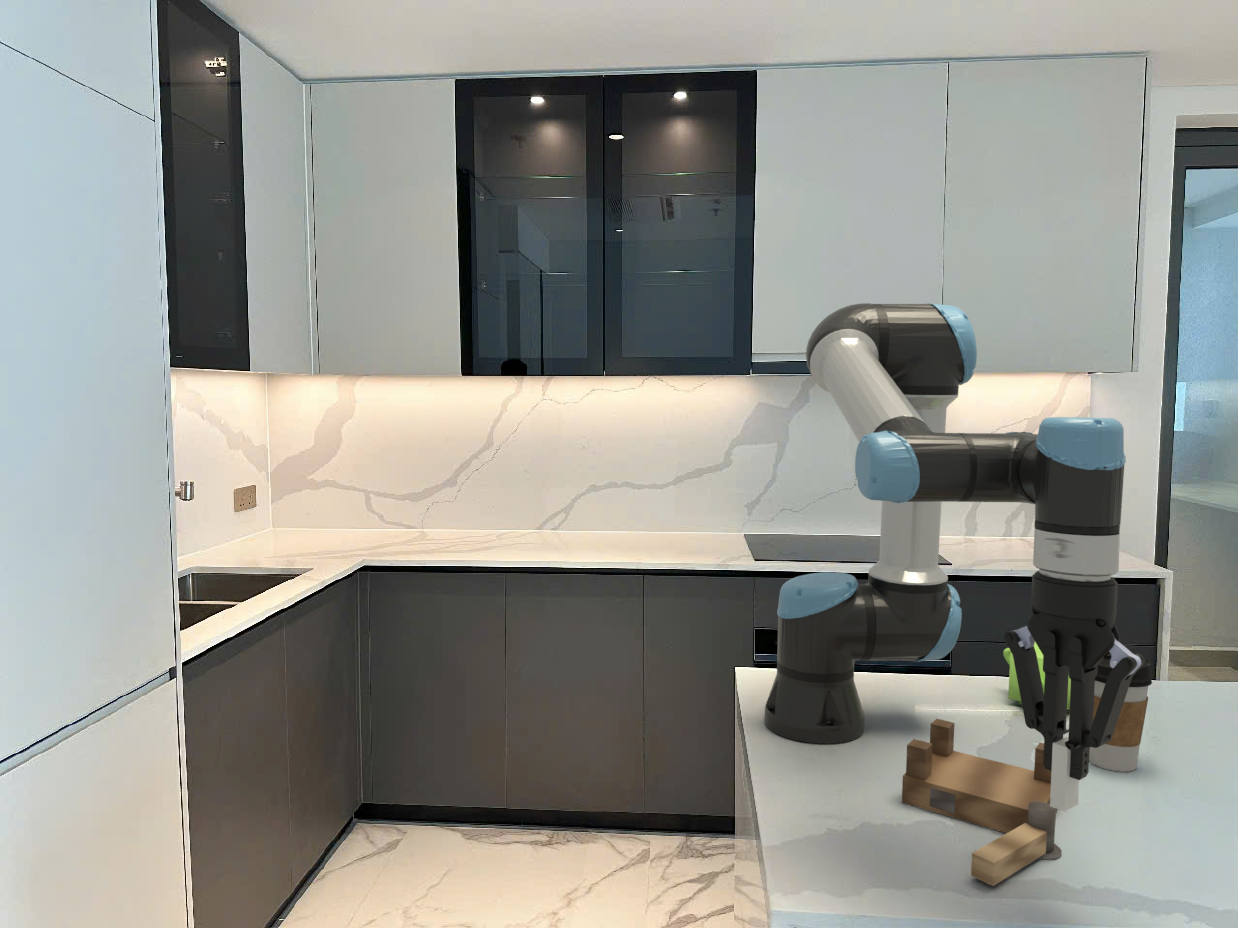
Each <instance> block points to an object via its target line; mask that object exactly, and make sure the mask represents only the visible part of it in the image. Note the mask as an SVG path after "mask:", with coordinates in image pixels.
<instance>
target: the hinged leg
mask: <svg viewBox="0 0 1238 928" xmlns="http://www.w3.org/2000/svg"><path fill="white" fill-rule="evenodd" d="M1056 814H1057V812H1056V809H1055V808H1053V807H1051V806H1050V804H1047V803H1044V802H1037V801H1035V802H1030V803H1029V805H1028V824H1026V823H1024V824H1022V825H1021V826H1019V827H1017V828H1015V829H1014V830H1012V831H1010V832H1008V833H1004V834H1003V835H1001V836H1000V837H998V838H996V839H995V840H994V839H993V841H991V842H989V843H987V844H985V845H984V846H982V847H979V849H976V850H974V851H973V852H972V853H971V865H970V867H971V868H970V876H971V877H973V878H975V879H977V880H979V881H982V882H983V883H986V884H987V885H989V886H992V887H994V886H996V885H997V884H998V883H1000V882H1002V881H1004V880H1005V879H1007V878H1009V877H1010V876H1012V875H1014V874H1015V873H1016V872H1018V871H1020V870H1021V869H1023V868H1024V867H1026V866H1028V865H1030V864H1032V863H1033V862H1034V861H1036V860H1037V859H1039V857H1041V856H1042V855H1044V854H1045V853H1046V852H1049V851H1052V850H1053V849H1054V844H1055V834H1056V833H1055V831H1056V817H1057V815H1056Z"/></svg>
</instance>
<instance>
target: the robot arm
mask: <svg viewBox="0 0 1238 928" xmlns="http://www.w3.org/2000/svg"><path fill="white" fill-rule="evenodd" d="M972 324H973V323H971V321H970V319H969V317H968V315H967V314H966V313H965V312H964V311H963V310H962V309H961V308H959V307H958V306H955V305H951V304H950V305H946V304H940V303H939V304H937V303H931V302H929V303H870V302H868V303H856V304H850V305H846V306H844V307H841V308H839V309H837V310H835V311H833V312H832V313H830V314H828V315H827V316H825V318H823V320H822V321H820V323H819V324H818V325H817V326H816V327H815V328H814V330H813V331H812V332H811V335H810V337H809V339H808V342H807V345H806V351H805V360H806V364H807V369H808V371H809V373H810V375H811V377H812V379H813V380H814V382H815V383H816V384H817V385H818V386H819V387H820V388H821V389H823V390H824V391H826V392H828V393H830V395H831V396H832V398H833V400H834V402H835V404H836V405H837V407H838V409H839V411H841V414H842V416H843V417H844V419H845V421H846V422H847V424H848V426H849V428H850V429H851V431H852V433H853V434H854V436H855V437H856V439H857V441H858V445H857V447H856V451H855V457H854V458H855V459H854V472H855V473H854V474H855V477H856V481H857V487H858V490H859V492H860V493H861V495H862V496H863V497H865V498H866V499H868V500H871V501H880V502H881V514H880V516H881V517H880V518H881V519H880V537H879V540H880V541H879V559H878V561H877V562H875V563H874V564H873V565H872V566H871V567H870V568H869V569H868V578H867V579H868V580H867V583H859V582H858V581H857V578H856V577H855V576H854V575H852V574H849V573H845V572H832V571H830V572H827V571H826V572H814V573H807V574H802V575H798V576H795V577H793V578H790V579H789V580H787V581H786V582H785V583H783V584H782V586H781V587H780V590H779V596H778V604H777V605H778V606H777V610H776V614H777V616H778V617H777V618H778V619H777V653H776V654H777V657H776V659H777V661H776V674H775V678H774V680H773V684H772V685H771V689H770V691H769V694H768V697H767V700H766V702H765V705H764V720H763V721H764V725H765V726H766V728H768V729H769V730H771V731H772V732H773V733H775V734H776V735H779V736H782V737H784V738H788V739H790V740H795V741H798V742H799V741H800V742H803V743H805V742H806V743H813V744H840V743H846V742H849V741H850V742H851V741H853V740H855V739H857V738H859V737H861V736H862V735H863V734H864V731H865V714H864V709H863V707H862V703H861V700H860V697H859V693H858V689H857V687H856V683H855V677H854V676H855V662H856V661H904V662H905V661H906V662H907V661H910V662H915V663H916V662H917V663H918V662H919V663H920V662H923V661H935V660H936V661H937V660H941V659H943V658H945V657H946V656H948V654H949V653H951V651H952V650H953V649H954V648H955V645H956V644H957V642H958V638H959V635H960V631H961V626H962V615H963V613H962V608H961V607H960V605H961V598H960V595H959V593H958V591H957V589H956V588H955V587H954V586H952V584H949V583H948V582H949V581H948V580H949V576H948V575H947V573H945V571H944V570H943V569H942V568H941V567H940V565H939V555H940V553H939V550H940V537H941V536H940V535H941V534H940V532H941V514H942V503H943V502H947V503H948V502H955V503H956V502H957V503H958V502H959V503H961V502H963V503H1023V504H1024V503H1025V504H1031V505H1034V526H1033V527H1034V532H1033V533H1034V534H1033V535H1034V537H1033V538H1034V539H1033V556H1032V557H1033V558H1032V559H1033V560H1032V565H1033V566H1034V567H1035V569H1038V570H1037V571H1035V572H1034V573H1033V574H1031V575H1032V576H1031V581H1032V582H1031V596H1030V597H1031V601H1030V604H1031V608H1032V611H1031V614H1030V616H1029V617H1028V618H1027V622H1026V626H1022V627H1019V628H1018V629H1014V630H1010V631H1007V632H1005V633H1004V635H1003V639H1004V641H1005V643H1006V644H1007V648H1009V649H1010V651H1011V653H1012V654H1013V659H1014V664H1015V670H1016V675H1017V680H1018V686H1019V691H1020V697H1021V702H1022V705H1021V706H1022V712H1023V717H1024V718H1023V719H1024V722H1025V725H1026V727H1027V728H1029V729H1031V730H1032V729H1033V730H1035V731H1037V732H1038V733H1040V734H1041V735H1042V737H1043V743H1044V759H1043V764H1044V767H1045V769H1047V770H1050V771H1051V794H1050V806H1051V807H1053V808H1056V809H1058V811H1062V812H1065V813H1066V812H1067V811H1069V810H1070V809H1072V808H1075V807H1076V806H1077V805H1079V787H1080V786H1079V784H1080V780H1081V781H1082V780H1083V779H1085V778H1087V776H1088V774H1089V772H1090V771H1089V768H1090V761H1089V751H1090V747H1093V748H1098V747H1100V746H1102V745H1104V744H1106V743H1108V742H1109V741H1111V739H1112V736H1113V733H1114V730H1115V727H1116V724H1117V721H1118V718H1119V715H1120V712H1121V709H1122V706H1123V703H1124V700H1125V697H1126V694H1127V691H1128V688H1129V685H1130V682H1131V679H1132V676H1133V675H1134V674H1135V673H1136V672H1137V671H1138V670H1139V669H1140V668H1141V667H1142V666H1143V665H1144V663H1145V659H1146V658H1145V657H1144V656H1143V655H1142V654H1141V653H1133V652H1132V651H1130V650H1129V649H1128V648H1127V647H1126V646H1124V645H1123V643H1121V642H1120V640H1121V639H1120V638H1121V637H1120V633H1119V631H1118V629H1117V625H1116V616H1117V605H1118V584H1119V583H1118V581H1116V579H1115V578H1114V577H1112V576H1114V575H1116V574H1117V573H1119V570H1120V567H1119V566H1120V564H1119V563H1120V540H1121V539H1120V538H1121V534H1120V532H1121V531H1120V530H1121V522H1122V521H1121V519H1122V508H1123V507H1122V506H1123V505H1122V504H1123V490H1124V478H1125V477H1124V475H1125V463H1126V455H1125V452H1124V450H1125V449H1124V445H1125V444H1124V442H1125V441H1124V438H1125V437H1124V435H1125V433H1124V427H1123V424H1122V423H1121V421H1119V420H1118V419H1116V418H1113V417H1086V416H1085V417H1083V416H1082V417H1078V416H1070V417H1069V416H1067V417H1066V416H1049V417H1046V418H1044V419H1043V420H1042V421H1041V422H1040V424H1039V426H1038V433H1037V434H1036V433H1032V432H1027V431H1008V432H1004V433H1001V432H1000V433H994V432H993V433H992V432H991V433H986V432H985V433H984V432H983V433H982V432H981V433H979V432H978V433H977V432H976V433H975V432H974V433H973V432H972V433H967V432H966V433H965V432H946V426H947V425H946V423H947V410H948V407H949V406H950V405H951V404H952V403H953V402H954V401H955V400H956V399H957V398H958V397H959V387H960V386H962V385H964V384H967V383H968V382H970V380H971V379H972V377H973V376H974V370H975V368H976V367H977V356H978V353H977V352H978V350H977V349H978V348H977V340H976V335H975V331H974V328H973V325H972ZM1035 642H1036V644H1037V645H1038V647H1039V649H1040V651H1041V652H1042V654H1043V671H1044V672H1045V685H1044V692H1043V687H1042V682H1041V676H1040V671H1039V666H1038V660H1037V655H1036V651H1035V648H1034V644H1035ZM1108 654H1111V656H1112V657H1111V660H1110V666H1111V667H1112V668H1113V669H1112V671H1111V672H1110V674H1109V676H1108V678H1107V681H1106V684H1105V687H1104V690H1103V693H1102V696H1101V699H1100V702H1099V705H1098V708H1097V711H1096V714H1095V717H1094V720H1093V712H1094V690H1095V677H1096V675H1097V672H1098V665H1099V664H1100V663H1101V662H1102V661H1103V659H1104V658H1105V657H1106V656H1107V655H1108ZM1068 676H1069V678H1070V679H1071V690H1070V709H1069V715H1068V713H1067V712H1068V710H1067V697H1068ZM1067 715H1068V718H1069V719H1068V720H1069V721H1068V729H1067ZM1066 734H1068V736H1065V735H1066ZM1064 736H1065V737H1064Z"/></svg>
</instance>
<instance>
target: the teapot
mask: <svg viewBox="0 0 1238 928" xmlns="http://www.w3.org/2000/svg"><path fill="white" fill-rule="evenodd" d="M1034 648H1035V651H1036V655H1037V660H1038V666H1039V671H1040V676H1041V682H1042V687H1043V692H1044V685H1045V672H1044V671H1043V654H1042V652H1041V651H1040V649H1039V647H1038V645H1037V644H1036V642H1035V644H1034ZM1002 653H1003V654H1002V655H1003V657H1004V659H1005V661H1006V663H1007V664H1008V665H1009V673H1008V674H1009V676H1008V677H1009V678H1008V693H1007V695H1008V696H1007V698H1008V699H1009V700H1013V701H1016V702H1018V704H1019V705H1020V706H1022V702H1021V697H1020V691H1019V686H1018V680H1017V675H1016V670H1015V664H1014V659H1013V654H1012V653H1011V651H1010V649H1009V647H1006V648H1005V649H1004V650H1003V651H1002ZM1070 690H1071V679H1070V678H1069V676H1068V697H1067V711H1070Z"/></svg>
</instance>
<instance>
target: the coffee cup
mask: <svg viewBox="0 0 1238 928" xmlns="http://www.w3.org/2000/svg"><path fill="white" fill-rule="evenodd" d="M1111 657H1112V656H1111V653H1109V654H1108V655H1107V656H1106V657H1105V658H1104V659H1103V661H1102V662H1101V663H1100V664H1099V665H1098V672H1097V675H1096V677H1095V690H1094V712H1093V720H1094V717H1095V714H1096V711H1097V708H1098V705H1099V702H1100V699H1101V696H1102V693H1103V690H1104V687H1105V684H1106V681H1107V678H1108V676H1109V674H1110V672H1111V671H1112V669H1113V668H1112V667H1111V666H1110V660H1111ZM1144 659H1145V663H1144V665H1143V666H1142V667H1141V668H1140V669H1139V670H1138V671H1137V672H1136V673H1135V674H1134V675H1133V676H1132V679H1131V682H1130V685H1129V688H1128V691H1127V694H1126V697H1125V700H1124V703H1123V706H1122V709H1121V712H1120V715H1119V718H1118V721H1117V724H1116V727H1115V730H1114V733H1113V736H1112V739H1111V741H1109V742H1108V743H1106V744H1104V745H1102V746H1100V747H1098V748H1093V747H1090V751H1089V763H1091V764H1093V765H1094V766H1096V767H1099V768H1101V769H1105V770H1108V771H1113V772H1119V773H1120V772H1122V773H1125V772H1126V773H1127V772H1134V771H1135V770H1136V769H1137V767H1138V759H1139V754H1140V753H1139V752H1140V746H1141V743H1142V742H1141V741H1142V736H1143V730H1144V724H1145V720H1146V719H1145V718H1146V714H1147V713H1146V712H1147V707H1148V702H1149V696H1148V690H1149V686H1151V685H1152V684H1153V681H1152V680H1153V675H1152V669H1151V666H1152V665H1151V661H1150V660H1148V659H1147V658H1144Z"/></svg>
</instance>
